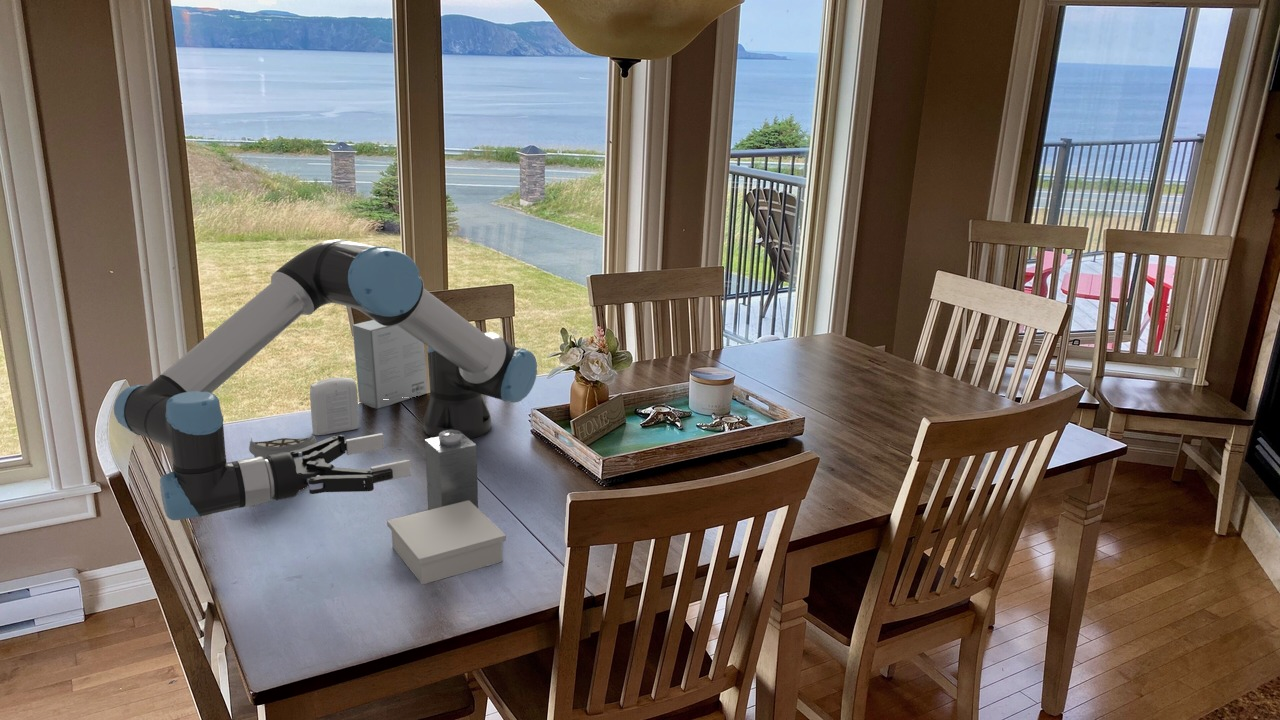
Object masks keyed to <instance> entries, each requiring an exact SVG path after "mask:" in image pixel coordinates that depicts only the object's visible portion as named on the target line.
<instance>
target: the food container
mask: <svg viewBox="0 0 1280 720" xmlns="http://www.w3.org/2000/svg"><path fill="white" fill-rule="evenodd" d="M315 443H318V442H317V438H316V435H314V434H313V433H312V435H311V436H310V437H305V438H288V437H287V438H286V437H285V438H284V437H283V438H277V439H272V440H266V441H253V438H252V437H251V438H250V441H249V446H248V451H249V453H251V454H252V455H253V458H254V457H259V456H261V457H263V458H264V459H266V457H267V456H268V455H272V454H277V453H283V452H291V451H295V450H299V449H303V448H305V447H308V446H310V445H313V444H315ZM305 487H306V488H308V487H307V486H301V487H300V488H299V489H298V492H299V490H300V491H302V490H304V489H306V488H305ZM303 488H304V489H303Z"/></svg>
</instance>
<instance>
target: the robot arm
mask: <svg viewBox="0 0 1280 720" xmlns="http://www.w3.org/2000/svg"><path fill="white" fill-rule="evenodd" d="M328 304H337V305H341V306H345V307H350V308H352V309H355V310H357V311H360V312H361V313H362V314H364V315H366V316H367V317H369V318H370V319H371V320H375V321H376V322H378V323H379V324H381V325H383V326H395V325H397V326H399V327H400V328H402V329H403V330H405V331H406V332H408V333H409V334H411V335H412V336H414V337H415V338H417V339H418V340H420V341H421V342H423V343H424V345H425V346H427V347H428V348H427V349H428V350H427V361H428V376H429V393H430V394H429V396H430V397H429V399H428V404H427V407H426V411H425V413H424V417H423V430H424V433H425V434H427V435H428V436H430V437H431V438H434V437H439V433H440V432H442V431H445V430H458V431H460V432H461V433H463V434H464V435H465V436H466V437H467V438H469V439H473V438H477V437H480V436H482V435H485V434H486V433H488V432H489V431H490V430H491V428H492V417H491V413H490V411H489V408H488V406H487V403H486V400H485V397H484V396H487V397H490V398H493V399H497V400H500V401H503V402H505V403H507V402H509V403H515V404H516V403H519V402H522V400H523V399H525V398H527V396H529V394H530V393H531V391H532V389H533V388H534V385H535V382H536V380H537V376H538V362H537V359H536V356H535V355H534V353H533V352H532V351H529V350H527V349H526V348H524V347H522V348H519V347H516V346H515V345H512V344H510V343H509V342H508V341H507V340H506V339H504V338H503V337H501V336H500V335H498V334H497V333H494V332H492V331H491V332H490V331H488V332H483V331H481V329H480V328H478V327H476V326H475V325H473V324H472V323H471V322H469V320H467V319H466V318H464V317H463V316H462V315H460V314H459V313H458V312H456V311H455V310H454V309H452V308H451V307H450V306H448V305H447V304H446V303H445V302H443V301H441V299H439V298H437V296H435V295H434V294H433V293H432V292H429V291H428V290H427V289H426V288H425V284H424V280H423V278H422V276H421V275H420V270H419V267H418V266H417V264H416V263H415V261H414V260H413V259H412V257H410V256H408V254H406V253H404V252H401V251H400V250H397V249H395V248H392V247H389V246H379V245H378V246H376V245H371V244H365V243H360V242H356V241H350V240H346V239H339V238H338V239H329V240H325V241H322V242H319V243H317V244H314V245H313V246H311V247H309V248H307V249H305V250H303V251H302V252H300V253H299V254H297V255H296V256H294V257H293V258H291V259H290V260H289V261H287V262H286V263H285V264H283V265H282V266H280V267H279V268H278V269H277V270H276V271H274V272H273V273H272V275H271V276H270V284H268V285H267V286H266V287H265V288H263V289H262V290H260V292H259V293H257V294H256V295H255V296H253V298H251V299H250V300H249V301H248V302H247V303H245V304H244V305H243V306H242V307H240V309H238V310H237V311H235V312H234V313H233V314H232V315H230V317H229V318H227V319H226V320H225V321H223V322H222V324H220V325H219V326H218V327H217V328H215V329H214V330H213V331H211V333H209V334H208V335H207V336H206V337H204V338H203V339H202V340H201V341H200V342H198V344H196V345H194V347H192V348H191V349H190V350H188V351H187V353H185V354H184V355H183V356H181V358H179V359H178V360H177V361H175V363H173V364H172V365H171V366H170V367H168V368H167V369H166V370H165V371H164V372H163V373H161V374H160V375H158V377H157V378H155V379H154V380H152V381H151V382H149V384H135V385H131V386H128V387H127V388H124V389H123V390H122V391H121V392H120V393H119V394H118V396H117V397H116V399H115V402H114V405H113V414H114V417H115V419H116V421H117V422H118V424H120V425H121V426H122V427H123V428H125V429H126V430H128V431H130V432H131V433H133V434H135V435H138V436H142V437H144V438H147V439H150V440H152V441H154V442H155V443H158V444H160V445H163V446H164V447H168V448H169V449H170V454H171V460H172V471H169V472H168V473H164V474H162V475H161V476H160V478H159V484H160V486H159V487H160V495H161V496H160V497H161V499H162V505H163V510H164V513H165V516H166V517H167V518H168V519H169V520H171V521H180V520H188V519H196V518H197V519H198V518H199V519H200V518H202V517H204V516H209V515H213V514H217V513H223V512H226V511H227V512H228V511H231V510H236V509H242V508H245V507H249V508H254V507H255V506H256V505H260V504H266V503H269V502H270V501H271V498H272V499H273V500H274V501H280V500H286V499H292V498H294V497H297V495H298V493H299V491H298V489H299V488H300V487H301V486H308V488H309V489H308V491H309V494H310V495H317V494H321V493H344V492H345V493H346V492H347V493H348V492H349V493H351V492H352V493H353V492H354V493H355V492H356V493H357V492H360V493H361V492H372V491H374V488H375V487H374V486H375V485H374V484H378V483H382V482H387V481H391V480H397V479H401V478H406V477H411V475H412V474H411V473H412V472H411V460H410V459H404V460H399V461H393V462H389V463H383V464H378V465H373V466H370V467H369V468H370V469H362V468H351V467H341V466H340V467H336V466H334V464H333V463H332V462H333V461H335V460H336V459H338V458H340V457H341V456H343V455H345V453H346V455H347V456H351V455H357V454H360V453H361V454H362V453H365V452H366V453H367V452H371V451H373V452H374V451H376V450H382V449H384V448H385V443H384V434H383V432H380V433H375V434H370V435H369V434H368V435H364V436H358V437H354V438H353V437H352V438H348V439H345V435H344V434H339V435H337V436H336V435H333V436H331V437H328V438H325V439H322V440H320V441H318V442H317V443H315V444H313V445H310V446H308V447H305V448H303V449H299V450H295V451H291V452H283V453H277V454H272V455H268V456H267V457H266V459H264V458H263V457H261V456H259V457H254V456H253V457H250V458H244V459H239V460H235V461H230V462H227V455H226V442H225V431H224V415H223V412H222V409H221V405H220V404H221V403H220V399H219V397H218V396H217V395H215V394H214V391H216V390H217V389H218V388H220V387H221V385H223V384H224V383H225V382H226V381H227V380H229V378H231V377H233V375H235V374H236V372H237V371H239V370H240V369H241V368H242V367H243V366H244V365H246V364H247V363H248V362H249V361H250V360H252V358H254V357H255V356H256V355H257V354H258V353H259V352H261V351H262V350H263V349H264V348H266V346H267V345H268V344H270V343H271V342H272V341H273V340H274V339H276V338H277V337H278V336H279V335H280V334H281V333H283V332H284V331H285V330H286V329H287V328H288V327H289V326H290V325H291V324H293V323H294V322H295V321H296V320H298V319H299V318H300V317H301V316H302V315H303V316H310V315H312V314H313V313H314V312H315V311H317V309H319V308H321V307H323V306H325V305H328Z"/></svg>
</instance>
